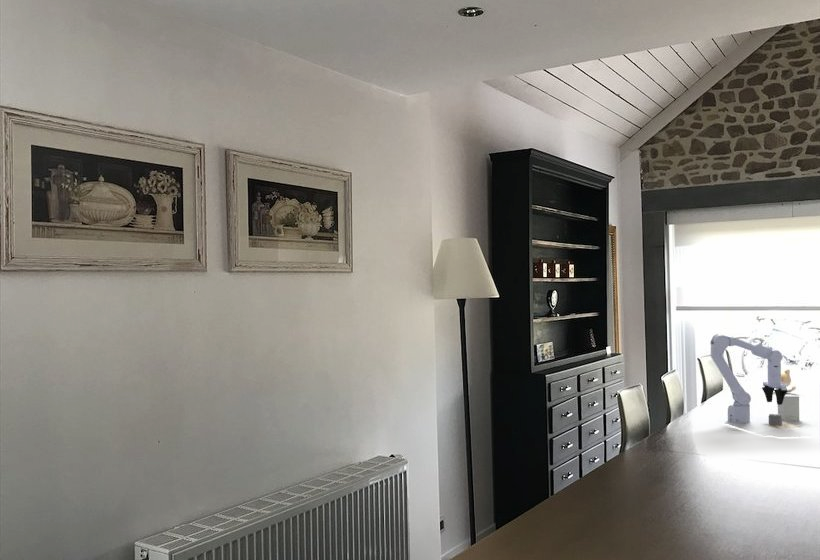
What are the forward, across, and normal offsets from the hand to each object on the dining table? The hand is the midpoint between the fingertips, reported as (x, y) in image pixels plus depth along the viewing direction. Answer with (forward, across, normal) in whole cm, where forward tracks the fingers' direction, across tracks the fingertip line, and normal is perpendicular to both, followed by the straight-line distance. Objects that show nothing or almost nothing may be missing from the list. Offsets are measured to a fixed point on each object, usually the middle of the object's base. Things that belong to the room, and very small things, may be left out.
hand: (774, 403), depth 363 cm
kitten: (+10, +87, -66) cm, 110 cm away
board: (+10, -8, +2) cm, 13 cm away
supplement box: (+10, +5, -11) cm, 16 cm away
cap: (+9, -6, +4) cm, 12 cm away
